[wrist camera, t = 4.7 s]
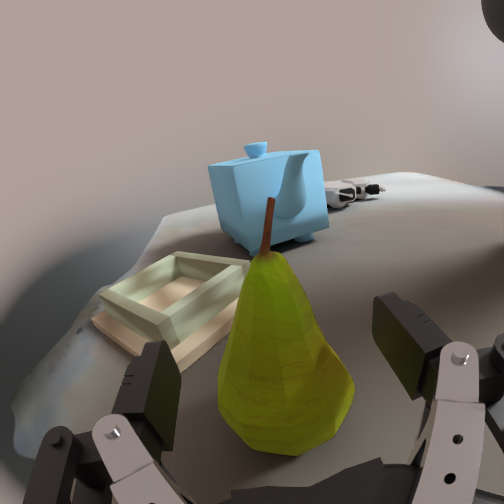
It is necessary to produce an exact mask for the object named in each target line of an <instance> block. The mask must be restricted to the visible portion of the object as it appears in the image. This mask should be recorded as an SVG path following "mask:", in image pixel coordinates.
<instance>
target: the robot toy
mask: <svg viewBox="0 0 504 504" xmlns="http://www.w3.org/2000/svg"><path fill="white" fill-rule="evenodd" d="M324 187H325V195H326V203H327V204H329V205H330V206H331V207H333V208H342V207H343V206H345V205H346V203H347V202H353V201H354V200H355V199H356V198H357V199H364V198H365V197H366V196H367V195H368V194H370V195H373V194H379V191H381V192H383V191H386V188H384V187H379V185H377V184H374V185H370V182H369V181H368V182H367V181H365V180H364V179H357V178H351V179H345V180H342V181H341V182H324Z"/></svg>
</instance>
